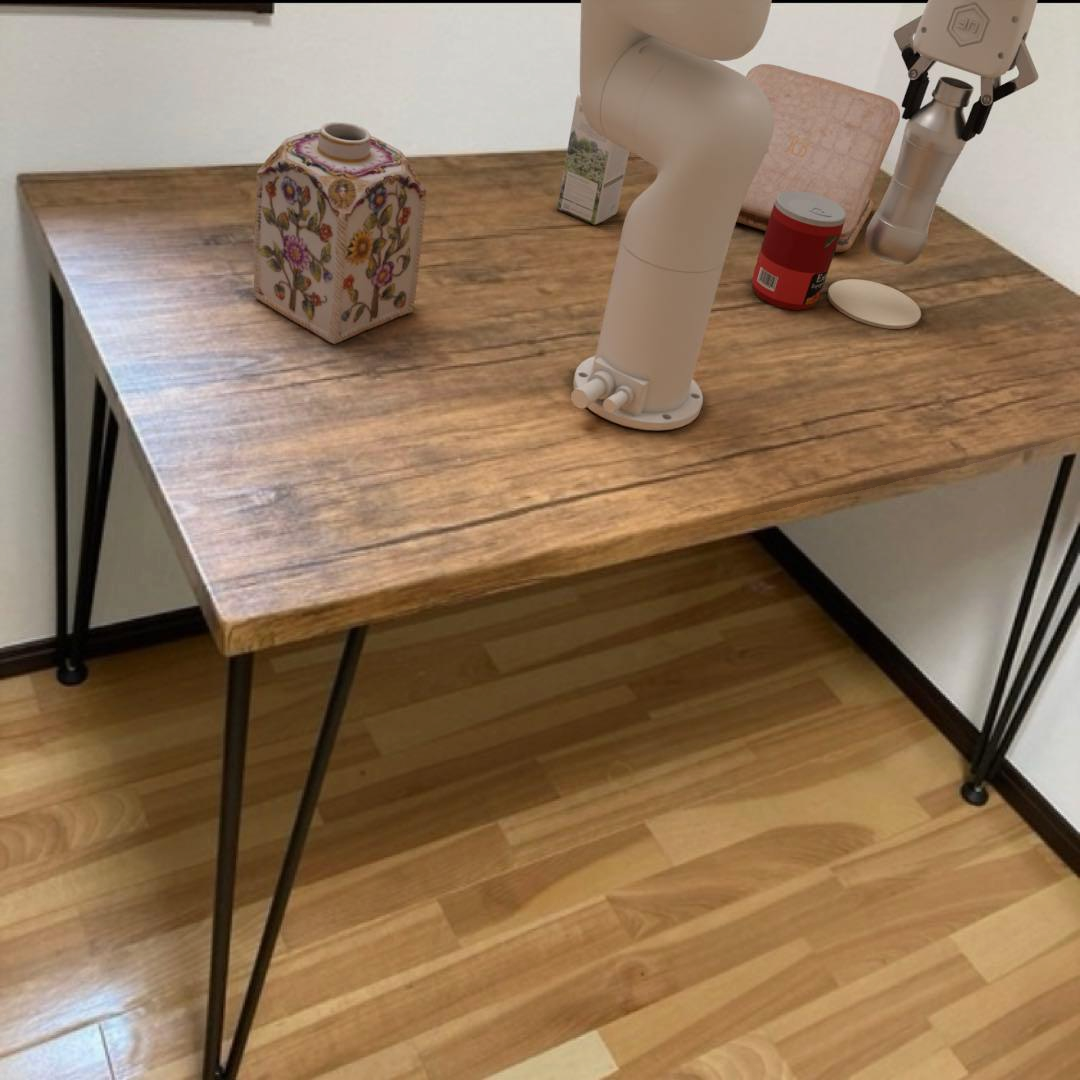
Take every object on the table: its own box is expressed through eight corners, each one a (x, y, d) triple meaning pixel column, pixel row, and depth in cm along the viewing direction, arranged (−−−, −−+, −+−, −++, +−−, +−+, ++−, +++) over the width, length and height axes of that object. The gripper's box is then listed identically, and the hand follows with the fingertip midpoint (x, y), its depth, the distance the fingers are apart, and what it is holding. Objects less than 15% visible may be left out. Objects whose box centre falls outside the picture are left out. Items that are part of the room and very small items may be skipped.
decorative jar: (249, 298, 123) (253, 119, 112) (334, 267, 131) (345, 98, 120) (335, 349, 118) (347, 167, 107) (418, 313, 126) (437, 141, 115)
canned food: (816, 317, 140) (846, 227, 134) (747, 300, 141) (773, 209, 134) (818, 289, 147) (847, 201, 140) (752, 272, 147) (778, 184, 140)
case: (688, 212, 158) (720, 86, 148) (734, 164, 174) (765, 47, 164) (843, 263, 154) (886, 136, 144) (875, 209, 170) (916, 91, 160)
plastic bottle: (905, 277, 138) (978, 100, 126) (850, 254, 140) (917, 77, 128) (923, 261, 143) (995, 89, 131) (869, 239, 145) (936, 67, 133)
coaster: (899, 339, 140) (900, 335, 139) (812, 301, 144) (813, 297, 143) (933, 309, 147) (934, 305, 147) (849, 273, 151) (850, 270, 151)
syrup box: (618, 214, 154) (643, 97, 145) (593, 227, 150) (617, 108, 141) (579, 197, 156) (601, 82, 147) (554, 210, 152) (575, 91, 143)
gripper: (909, -75, 122) (851, 107, 133) (1079, -23, 116) (1004, 163, 127) (935, -81, 127) (877, 94, 138) (1100, -32, 121) (1025, 147, 132)
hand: (938, 125), depth 132 cm, fingers closed on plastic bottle, 6 cm apart
